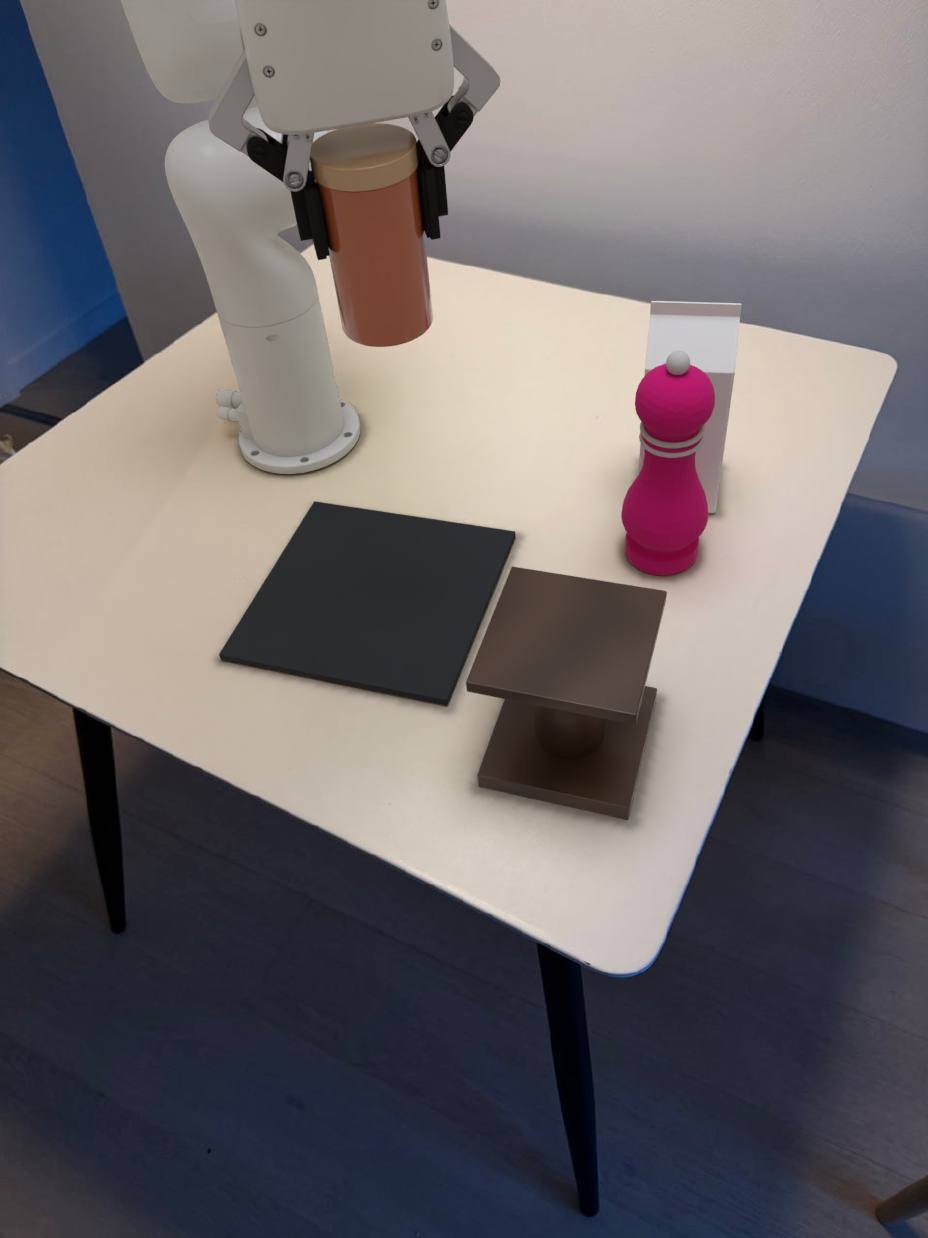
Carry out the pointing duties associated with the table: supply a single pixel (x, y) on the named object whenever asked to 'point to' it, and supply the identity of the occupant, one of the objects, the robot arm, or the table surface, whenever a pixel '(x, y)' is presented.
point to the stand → (569, 689)
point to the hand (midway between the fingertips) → (375, 235)
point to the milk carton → (712, 350)
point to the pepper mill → (668, 468)
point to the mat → (373, 601)
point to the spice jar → (374, 231)
